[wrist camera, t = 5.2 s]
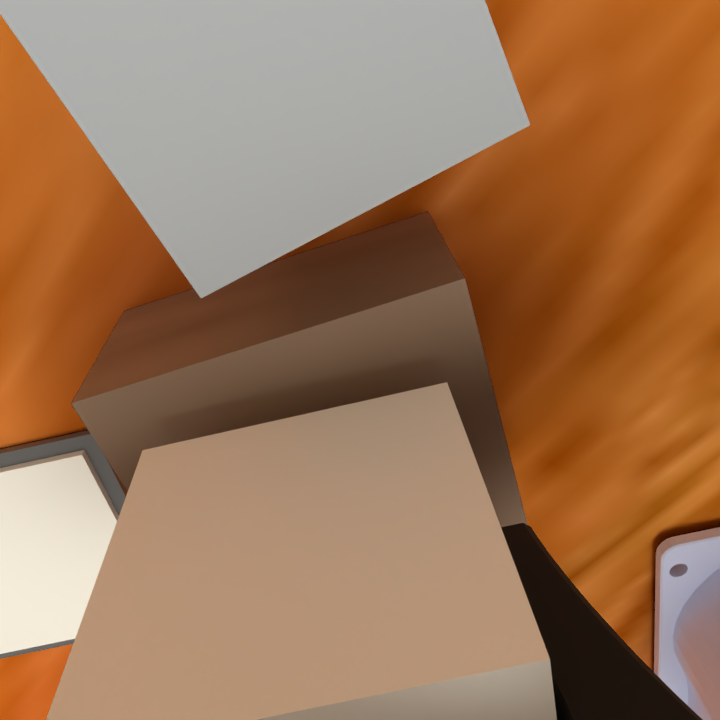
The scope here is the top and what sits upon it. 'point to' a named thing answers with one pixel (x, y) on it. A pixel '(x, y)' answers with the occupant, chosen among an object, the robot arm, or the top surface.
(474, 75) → the slate cube
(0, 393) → the top surface
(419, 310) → the walnut slab
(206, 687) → the cream cube
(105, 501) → the swatch
